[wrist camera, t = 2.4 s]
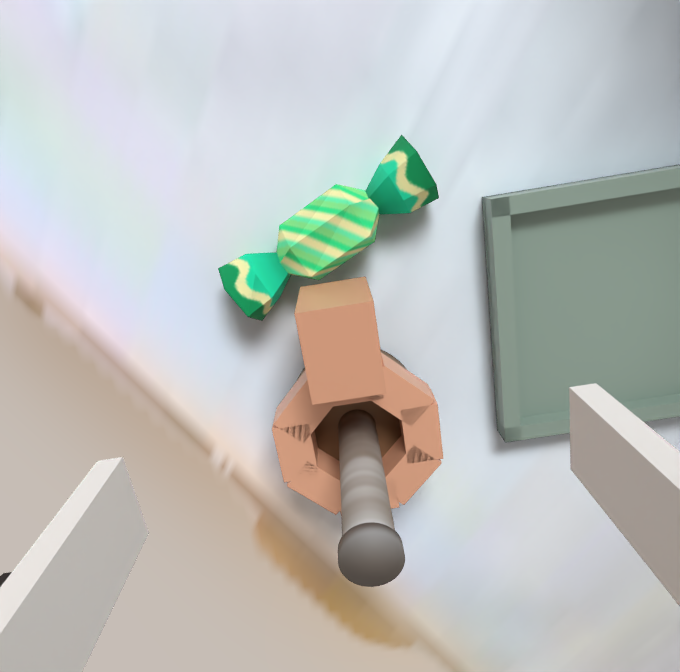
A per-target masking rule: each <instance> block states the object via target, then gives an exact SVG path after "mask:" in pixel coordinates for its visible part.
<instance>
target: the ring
mask: <svg viewBox="0 0 680 672" xmlns="http://www.w3.org/2000/svg"><path fill="white" fill-rule="evenodd" d="M294 314H295V319H296V324H297V329H298V334H299V340H300V345H301V350H302V355H303V360H304V365H305V371H304V372H303V373H302V375H301V376H300V377H299V379H298V380H297V381H296V383H295V384H294V385H293V387H292V388H291V389H290V391H289V392H288V393H287V395H286V396H285V397H284V399H283V400H282V401H281V403H280V404H279V405H278V407H277V408H276V413H275V418H274V423H273V427H272V431H273V436H274V440H275V444H276V449H277V453H278V458H279V462H280V466H281V471H282V475H283V479H284V482H288V483H287V486H288V487H289V488H291V489H293V490H294V491H296V492H298V493H300V494H301V495H303V496H305V497H306V498H308V499H310V500H311V501H313V502H315V503H317V504H318V505H320V506H322V507H323V508H325V509H327V510H328V511H330V512H332V513H334V514H335V515H336V514H337V513H338V512H339V511H340V512H341V487H340V461H338V460H337V459H335V458H333V457H332V456H330V455H329V454H327V453H325V452H324V451H322V450H321V449H319V448H318V446H317V441H316V436H315V431H314V430H315V429H316V427H317V426H318V425H319V424H320V422H321V421H322V420H323V418H324V417H325V416H326V415H327V413H328V412H329V411H330V410H331V408H332V407H334V406H340V405H347V404H353V403H360V402H366V401H373V402H374V403H376V404H377V405H379V406H380V407H382V408H383V409H385V410H386V411H388V412H389V413H391V414H392V415H394V416H395V417H397V418H398V419H399V422H400V429H401V436H400V437H399V439H398V440H397V441H396V442H395V443H394V444H393V446H392V447H391V448H390V449H389V450H388V451H387V453H386V454H385V455H384V456H383V457H382V462H383V467H384V473H385V478H386V484H387V489H388V495H389V500H390V506H391V508H398V507H399V502H400V503H402V504H403V505H404V504H405V503H406V502H407V501H408V500H409V499H410V498H411V497H412V496H413V494H414V493H415V492H416V491H417V490H418V489H419V488H420V487H421V486H422V484H423V483H424V482H425V481H426V480H427V479H428V478H429V477H430V476H431V474H432V473H433V472H434V471H435V470H436V469H437V468H438V467H439V466H440V464H441V460H440V459H443V451H442V442H441V433H440V423H439V414H438V405H437V402H436V400H435V398H434V395H433V393H432V391H431V389H430V388H429V386H428V384H427V383H425V382H424V381H422V380H421V379H419V378H418V377H416V376H415V375H413V374H412V373H411V372H409V371H408V370H406V369H405V368H403V367H402V366H400V365H399V364H397V363H396V362H395V361H393V360H392V359H390V358H389V357H387V356H386V355H384V354H383V353H381V351H380V344H379V337H378V330H377V323H376V316H375V309H374V302H373V298H372V295H371V292H370V289H369V286H368V283H367V280H366V277H359V278H353V279H347V280H341V281H334V282H328V283H322V284H316V285H310V286H303V287H300V291H299V295H298V300H297V304H296V309H295V313H294ZM341 516H342V514H341Z"/></svg>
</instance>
